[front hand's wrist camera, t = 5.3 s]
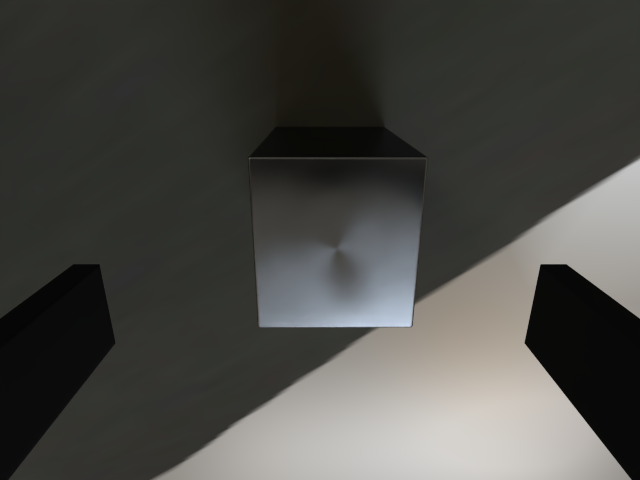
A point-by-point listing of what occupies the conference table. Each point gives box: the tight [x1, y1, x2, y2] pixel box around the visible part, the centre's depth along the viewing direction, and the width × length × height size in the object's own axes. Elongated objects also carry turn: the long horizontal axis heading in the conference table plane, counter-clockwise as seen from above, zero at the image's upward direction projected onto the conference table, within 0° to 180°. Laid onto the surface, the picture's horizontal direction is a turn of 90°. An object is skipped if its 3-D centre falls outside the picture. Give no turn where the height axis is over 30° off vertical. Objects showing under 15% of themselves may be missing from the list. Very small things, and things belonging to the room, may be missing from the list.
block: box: [248, 127, 428, 327], centre depth 22 cm, size 7×7×11 cm
